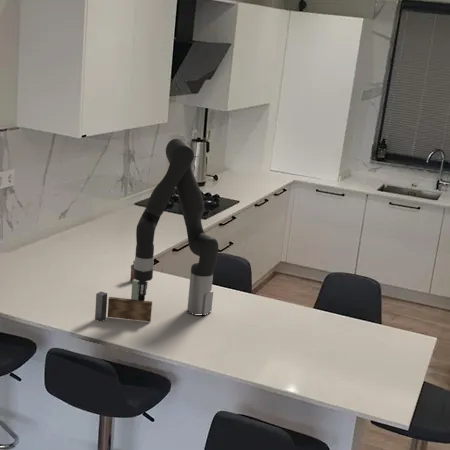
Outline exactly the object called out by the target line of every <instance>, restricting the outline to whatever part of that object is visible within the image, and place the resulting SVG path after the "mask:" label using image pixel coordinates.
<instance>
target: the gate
mask: <svg viewBox="0 0 450 450" xmlns="http://www.w3.org/2000/svg"><path fill="white" fill-rule="evenodd" d="M107 304H108V305H107V318H114V319H122V320H123V319H124V320H131V321H139V322H151V321H152V310H153V301H151V300H144V301H143V300H134V299H131V298H125V297H116V296H109V297H107Z"/></svg>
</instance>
